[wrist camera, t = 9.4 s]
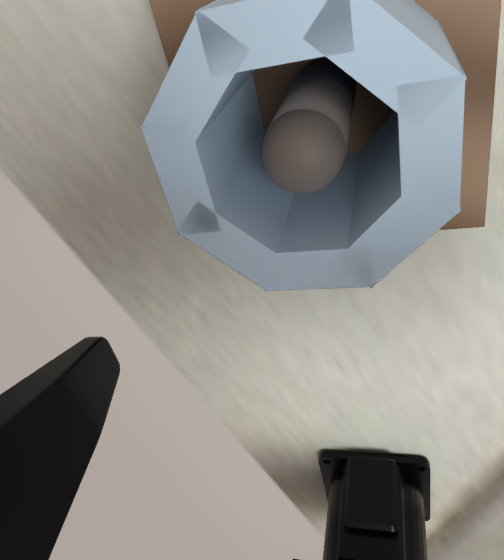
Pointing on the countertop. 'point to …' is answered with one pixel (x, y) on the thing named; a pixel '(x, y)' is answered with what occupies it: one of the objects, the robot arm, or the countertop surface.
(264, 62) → the blue roll
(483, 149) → the roll holder
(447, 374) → the countertop surface
